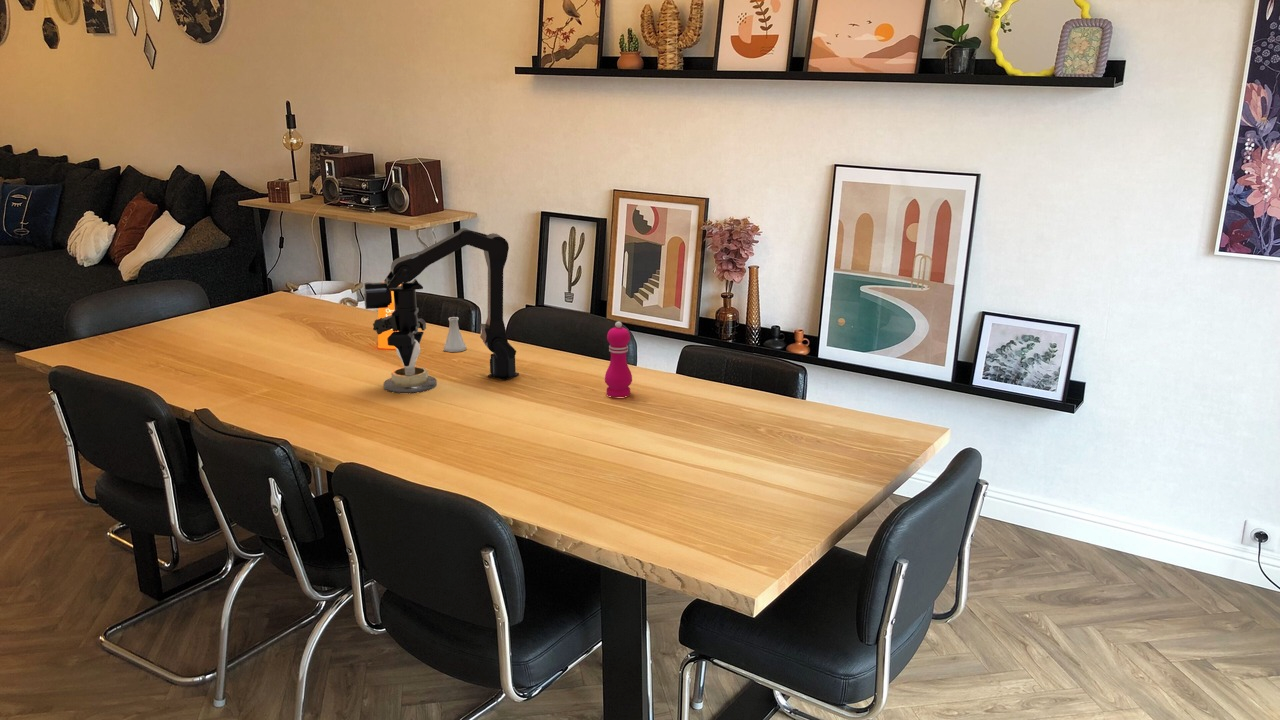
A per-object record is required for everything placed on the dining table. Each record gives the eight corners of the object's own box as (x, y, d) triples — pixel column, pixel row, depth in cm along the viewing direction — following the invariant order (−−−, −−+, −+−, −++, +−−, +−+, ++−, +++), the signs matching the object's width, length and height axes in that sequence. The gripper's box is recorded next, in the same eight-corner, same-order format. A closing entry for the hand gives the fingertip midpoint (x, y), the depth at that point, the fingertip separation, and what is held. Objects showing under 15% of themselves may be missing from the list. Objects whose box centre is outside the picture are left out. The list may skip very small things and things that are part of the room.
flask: (469, 347, 292) (468, 315, 289) (463, 353, 285) (461, 321, 282) (447, 346, 292) (445, 315, 290) (440, 352, 285) (438, 320, 283)
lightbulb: (424, 373, 256) (421, 334, 253) (419, 380, 250) (417, 340, 247) (400, 373, 256) (398, 334, 253) (395, 380, 250) (392, 340, 247)
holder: (447, 383, 256) (446, 369, 255) (411, 396, 244) (410, 382, 243) (409, 375, 263) (408, 361, 262) (372, 388, 251) (371, 373, 250)
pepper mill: (608, 400, 243) (608, 325, 238) (602, 391, 250) (601, 318, 244) (635, 398, 245) (635, 323, 239) (628, 389, 252) (628, 317, 246)
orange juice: (406, 349, 288) (406, 285, 283) (377, 348, 288) (377, 283, 283) (413, 344, 295) (413, 281, 291) (385, 342, 295) (385, 279, 291)
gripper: (383, 298, 256) (387, 353, 261) (365, 314, 238) (370, 372, 243) (424, 298, 256) (428, 353, 261) (409, 314, 238) (413, 373, 243)
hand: (409, 362), depth 252 cm, fingers closed on lightbulb, 6 cm apart
